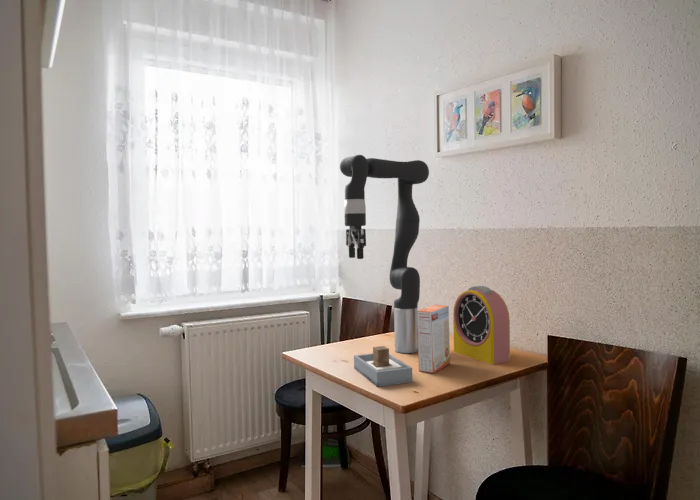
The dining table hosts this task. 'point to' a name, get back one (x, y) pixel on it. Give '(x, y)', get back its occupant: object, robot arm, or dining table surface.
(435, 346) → the cracker box
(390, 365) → the walled box
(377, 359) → the peg
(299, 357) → the dining table surface
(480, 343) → the alarm clock
